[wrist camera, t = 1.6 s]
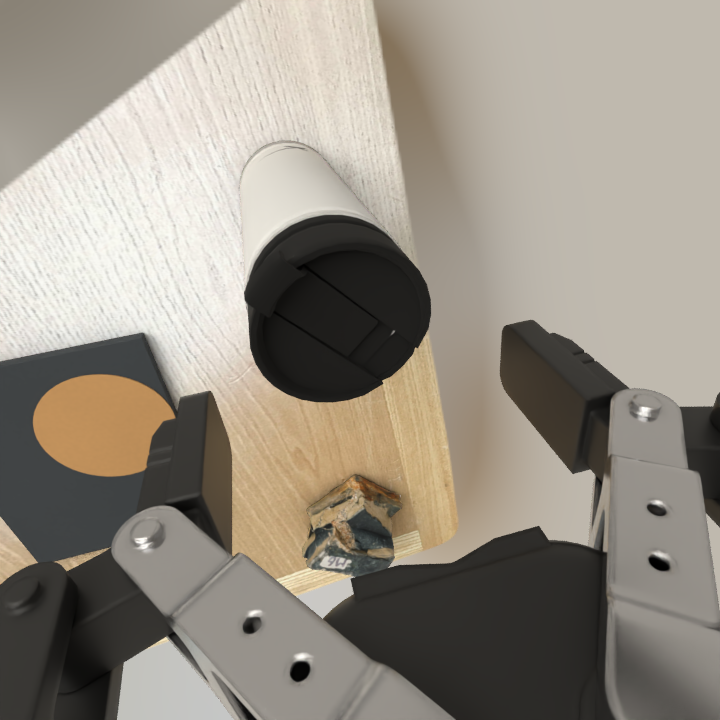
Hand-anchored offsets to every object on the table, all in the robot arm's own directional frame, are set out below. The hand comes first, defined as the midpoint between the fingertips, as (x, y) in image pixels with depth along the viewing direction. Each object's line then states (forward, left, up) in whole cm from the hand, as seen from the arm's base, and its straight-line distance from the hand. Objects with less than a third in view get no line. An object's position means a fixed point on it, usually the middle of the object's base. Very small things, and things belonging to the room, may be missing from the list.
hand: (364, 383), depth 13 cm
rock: (+32, 0, -23) cm, 39 cm away
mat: (+18, -20, -23) cm, 35 cm away
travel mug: (0, 0, -23) cm, 23 cm away
